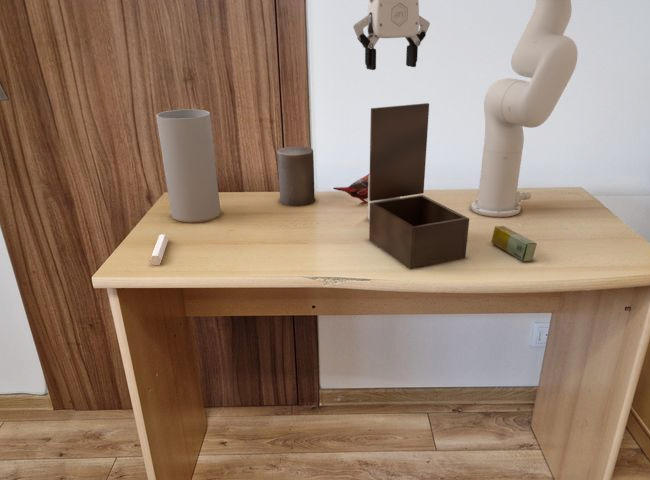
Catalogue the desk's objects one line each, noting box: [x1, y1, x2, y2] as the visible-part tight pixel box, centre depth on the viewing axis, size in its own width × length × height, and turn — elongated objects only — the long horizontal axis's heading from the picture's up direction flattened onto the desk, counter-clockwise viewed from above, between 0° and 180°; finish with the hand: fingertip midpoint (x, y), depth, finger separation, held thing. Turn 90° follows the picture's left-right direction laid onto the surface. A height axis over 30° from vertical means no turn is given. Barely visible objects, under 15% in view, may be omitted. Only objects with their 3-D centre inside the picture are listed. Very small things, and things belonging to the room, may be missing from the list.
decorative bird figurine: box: [332, 172, 370, 206], centre depth 164 cm, size 3×18×10 cm, turn 124°
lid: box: [369, 102, 430, 201], centre depth 138 cm, size 20×14×6 cm
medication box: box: [490, 225, 538, 263], centre depth 135 cm, size 12×3×4 cm, turn 23°
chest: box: [368, 194, 470, 270], centre depth 137 cm, size 19×14×9 cm
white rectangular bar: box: [149, 233, 169, 266], centre depth 139 cm, size 3×2×16 cm
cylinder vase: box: [155, 109, 221, 224], centre depth 154 cm, size 12×12×25 cm
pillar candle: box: [276, 145, 316, 207], centre depth 167 cm, size 10×10×15 cm
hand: (391, 67), depth 132 cm, fingers open, 9 cm apart
